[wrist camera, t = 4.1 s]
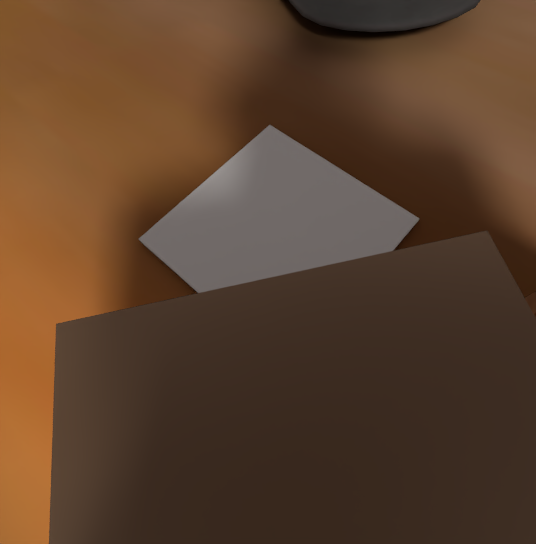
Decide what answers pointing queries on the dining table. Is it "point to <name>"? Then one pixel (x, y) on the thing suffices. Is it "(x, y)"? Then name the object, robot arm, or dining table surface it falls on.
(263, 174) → the felt mat
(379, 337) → the plain brown block
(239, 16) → the dining table surface
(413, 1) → the casserole
